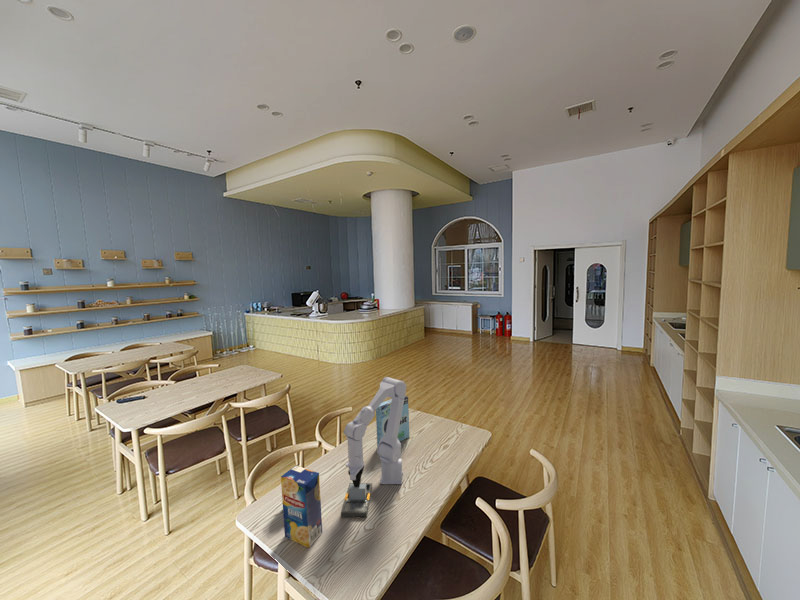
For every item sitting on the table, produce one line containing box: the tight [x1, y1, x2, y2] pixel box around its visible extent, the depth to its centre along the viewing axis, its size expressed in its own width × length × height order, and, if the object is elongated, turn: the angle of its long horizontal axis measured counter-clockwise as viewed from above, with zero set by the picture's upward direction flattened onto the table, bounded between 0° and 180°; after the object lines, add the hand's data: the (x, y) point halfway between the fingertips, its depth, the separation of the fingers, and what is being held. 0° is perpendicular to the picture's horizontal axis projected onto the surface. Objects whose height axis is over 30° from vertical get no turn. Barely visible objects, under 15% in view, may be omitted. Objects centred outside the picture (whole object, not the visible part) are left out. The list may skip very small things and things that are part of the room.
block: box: [348, 483, 367, 501], centre depth 125 cm, size 6×3×6 cm, turn 88°
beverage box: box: [280, 465, 323, 549], centre depth 109 cm, size 7×11×22 cm, turn 63°
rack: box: [340, 482, 373, 518], centre depth 125 cm, size 10×16×2 cm, turn 178°
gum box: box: [375, 395, 410, 448], centre depth 167 cm, size 20×5×23 cm, turn 133°
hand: (357, 485), depth 124 cm, fingers closed
